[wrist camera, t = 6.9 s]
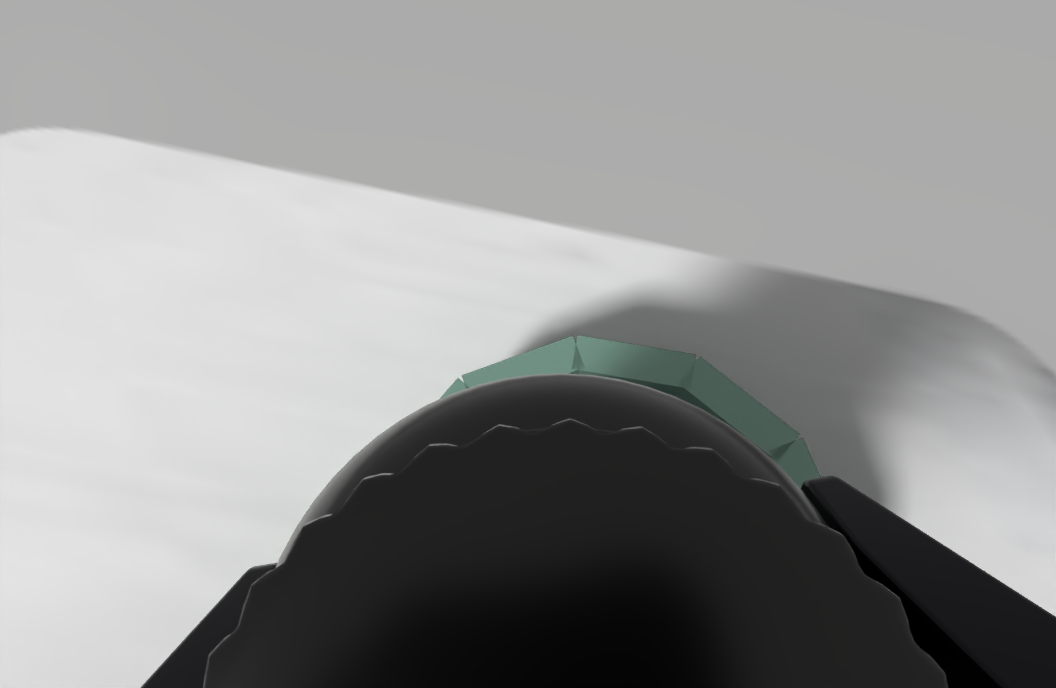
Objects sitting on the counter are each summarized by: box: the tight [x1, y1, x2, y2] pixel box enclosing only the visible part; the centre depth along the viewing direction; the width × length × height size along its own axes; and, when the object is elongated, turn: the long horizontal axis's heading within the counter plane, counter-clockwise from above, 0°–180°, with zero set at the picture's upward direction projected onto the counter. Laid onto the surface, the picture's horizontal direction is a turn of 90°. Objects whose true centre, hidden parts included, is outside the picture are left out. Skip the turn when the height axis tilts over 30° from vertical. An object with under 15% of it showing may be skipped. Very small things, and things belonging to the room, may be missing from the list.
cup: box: [440, 335, 821, 489], centre depth 20 cm, size 13×13×3 cm
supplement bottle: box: [203, 373, 948, 688], centre depth 10 cm, size 7×7×12 cm
